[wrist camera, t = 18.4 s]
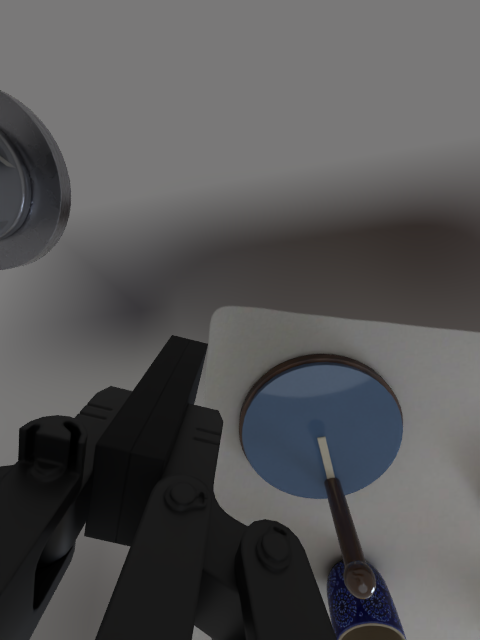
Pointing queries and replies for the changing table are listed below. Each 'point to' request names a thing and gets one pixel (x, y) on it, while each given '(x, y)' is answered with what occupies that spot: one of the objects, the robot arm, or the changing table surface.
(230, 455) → the changing table surface
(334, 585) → the planter
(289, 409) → the blue disc with post
